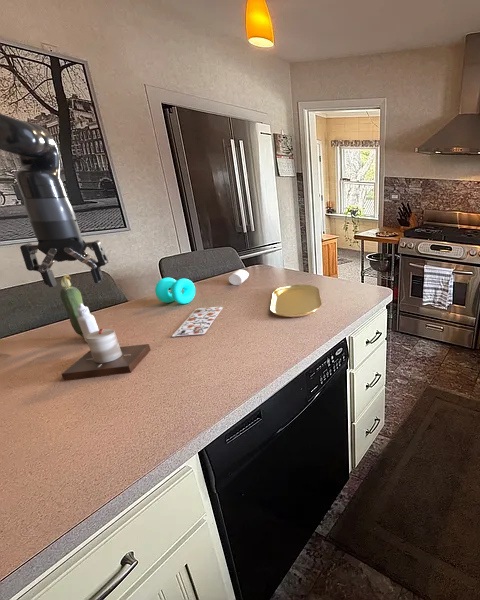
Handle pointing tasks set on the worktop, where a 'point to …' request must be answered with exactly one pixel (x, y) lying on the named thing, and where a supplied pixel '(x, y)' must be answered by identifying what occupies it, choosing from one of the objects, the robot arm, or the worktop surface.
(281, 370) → the worktop surface
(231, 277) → the roll
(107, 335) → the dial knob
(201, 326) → the paper towel
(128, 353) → the holder
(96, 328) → the eye dropper bottle
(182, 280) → the donuts
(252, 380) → the worktop surface
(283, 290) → the serving platter
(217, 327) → the worktop surface
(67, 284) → the vegetable
